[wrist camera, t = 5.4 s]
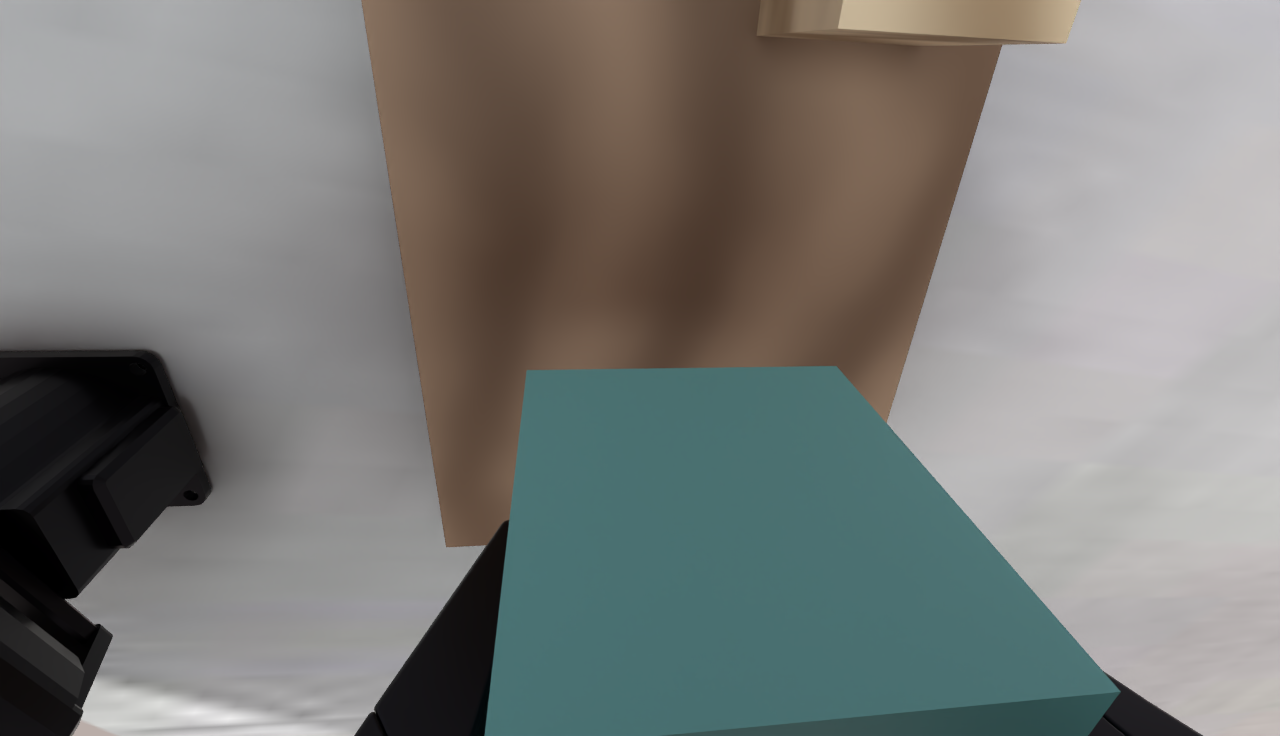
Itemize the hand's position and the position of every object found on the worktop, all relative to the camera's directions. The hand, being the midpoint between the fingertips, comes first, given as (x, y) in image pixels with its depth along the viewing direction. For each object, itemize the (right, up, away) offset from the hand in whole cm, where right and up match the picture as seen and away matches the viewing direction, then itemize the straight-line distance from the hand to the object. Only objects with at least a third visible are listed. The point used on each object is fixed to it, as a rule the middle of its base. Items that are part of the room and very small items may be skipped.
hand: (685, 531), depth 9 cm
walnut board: (+1, +7, +11) cm, 13 cm away
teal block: (0, 0, +1) cm, 1 cm away
